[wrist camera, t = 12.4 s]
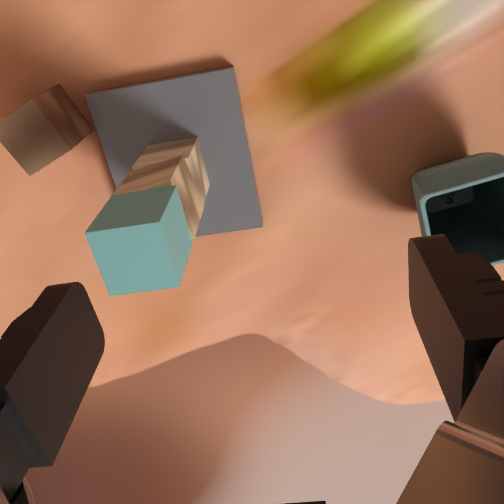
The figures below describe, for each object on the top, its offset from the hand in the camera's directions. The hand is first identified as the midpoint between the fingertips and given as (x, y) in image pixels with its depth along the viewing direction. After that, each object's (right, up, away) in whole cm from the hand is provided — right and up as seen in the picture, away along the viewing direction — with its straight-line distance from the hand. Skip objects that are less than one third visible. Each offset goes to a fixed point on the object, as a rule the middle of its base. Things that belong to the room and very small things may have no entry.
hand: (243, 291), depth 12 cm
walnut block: (-19, +14, +35) cm, 42 cm away
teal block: (-7, +3, +25) cm, 26 cm away
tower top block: (-7, +6, +30) cm, 32 cm away
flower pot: (+20, +8, +37) cm, 42 cm away
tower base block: (-7, +9, +35) cm, 37 cm away
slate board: (-7, +10, +36) cm, 38 cm away
